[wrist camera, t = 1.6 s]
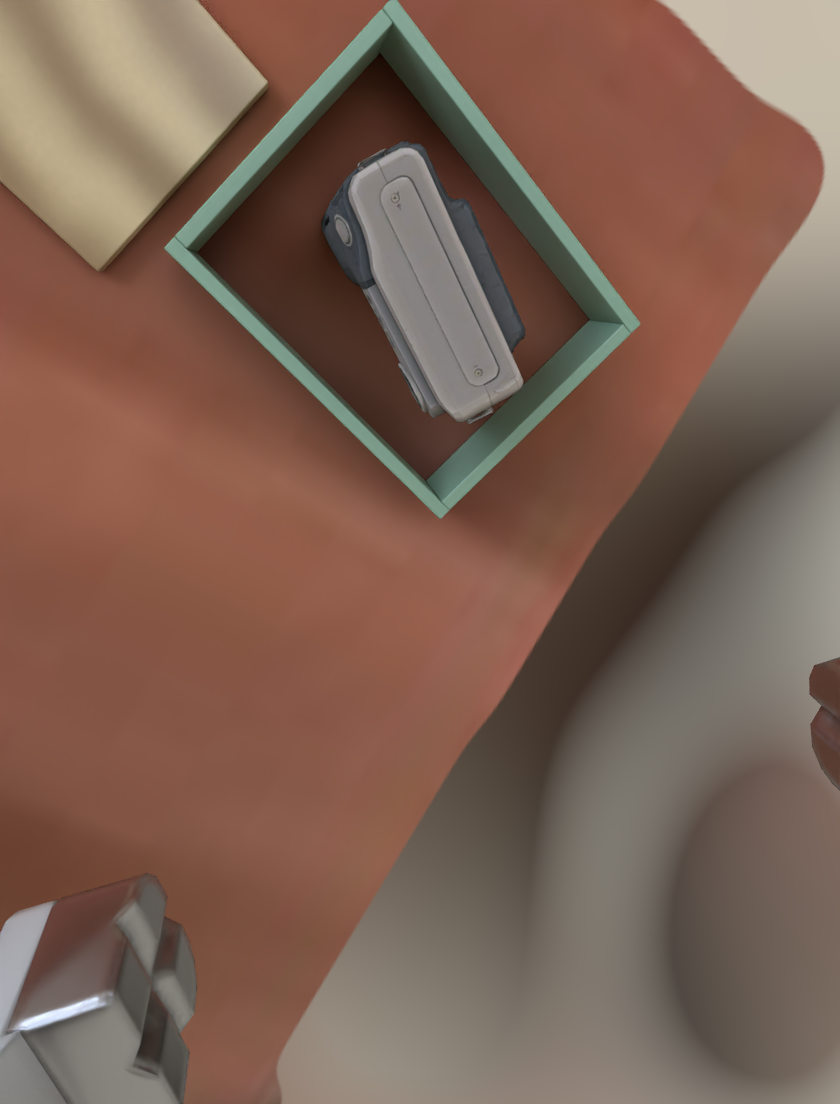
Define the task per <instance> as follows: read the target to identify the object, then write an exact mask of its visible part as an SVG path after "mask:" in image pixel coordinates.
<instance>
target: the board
mask: <svg viewBox="0 0 840 1104" xmlns="http://www.w3.org/2000/svg"><path fill="white" fill-rule="evenodd" d="M267 89H268V81H267V80H266V79H265V78H264V76H263V75H262V74H261V73H260V72H259V71H258V70H257V68H256V67H255V66H254V65H253V64H252V63H251V61H250V60H249V59H248V58H247V57H246V56H245V54H244V53H243V52H242V51H241V50H240V49H239V47H238V46H237V45H236V44H235V43H234V42H233V41H232V39H231V38H230V37H229V36H228V35H227V34H226V32H225V31H224V30H223V29H222V28H221V27H220V25H219V24H218V23H217V22H216V21H215V20H214V19H213V17H212V16H211V15H210V14H209V13H208V12H207V10H206V9H205V8H204V7H203V6H202V5H201V3H200V2H199V1H198V0H0V182H1V183H3V184H4V185H5V186H6V187H7V188H8V189H9V190H10V191H11V192H12V193H13V194H14V195H15V196H17V197H18V198H19V199H20V200H21V201H22V202H23V203H24V204H25V205H26V206H27V207H28V208H30V209H31V210H32V211H33V212H34V213H35V214H36V215H37V216H38V217H39V218H40V219H41V220H42V221H44V222H45V223H46V224H47V225H48V226H49V227H50V228H51V229H52V230H53V231H54V232H55V233H56V234H58V235H59V236H60V237H61V238H62V239H63V240H64V241H65V242H66V243H67V244H68V245H69V246H70V247H72V248H73V249H74V250H75V251H76V252H77V253H78V254H79V255H80V256H81V257H82V258H83V259H84V260H86V261H87V262H88V263H89V264H90V265H91V266H92V267H93V268H94V269H95V270H96V271H98V272H103V271H104V270H105V269H106V268H107V267H108V265H109V264H110V263H111V262H112V261H113V260H114V259H115V258H116V257H117V256H118V254H119V253H120V252H121V251H122V250H123V249H124V248H125V247H126V246H127V244H128V243H129V242H130V241H131V240H132V239H133V238H134V237H135V236H136V234H137V233H138V232H139V231H140V230H141V229H142V228H143V227H144V226H145V224H146V223H147V222H148V221H149V220H150V219H151V218H152V217H153V216H154V214H155V213H156V212H157V211H158V210H159V209H160V208H161V207H162V206H163V204H164V203H165V202H166V201H167V200H168V199H169V198H170V197H171V196H172V195H173V193H174V192H175V191H176V190H177V189H178V188H179V187H180V186H181V185H182V183H183V182H184V181H185V180H186V179H187V178H188V177H189V176H190V175H191V173H192V172H193V171H194V170H195V169H196V168H197V167H198V166H199V165H200V163H201V162H202V161H203V160H204V159H205V158H206V157H207V156H208V155H209V153H210V152H211V151H212V150H213V149H214V148H215V147H216V146H217V145H218V143H219V142H220V141H221V140H222V139H223V138H224V137H225V136H226V135H227V134H228V132H229V131H230V130H231V129H232V128H233V127H234V126H235V125H236V124H237V122H238V121H239V120H240V119H241V118H242V117H243V116H244V115H245V114H246V112H247V111H248V110H249V109H250V108H251V107H252V106H253V105H254V104H255V102H256V101H257V100H258V99H259V98H260V97H261V96H262V95H263V94H264V92H265V91H266V90H267Z"/></svg>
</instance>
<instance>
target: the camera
mask: <svg viewBox="0 0 840 1104" xmlns="http://www.w3.org/2000/svg"><path fill="white" fill-rule="evenodd" d="M321 226H322V231H323V233H324V235H325V237H326V239H327V242H328V244H329V246H330V248H331V250H332V252H333V253H334V255H335V256H336V258H337V260H338V262H339V264H340V266H341V268H342V269H343V271H344V272H345V274H346V275H347V277H348V278H349V279H350V280H351V281H352V282H353V283H355V284H357V285H359V286H361V288H362V290H363V292H364V294H365V296H366V298H367V299H368V301H369V303H370V305H371V307H372V309H373V311H374V313H375V314H376V316H377V318H378V320H379V322H380V324H381V326H382V328H383V330H384V332H385V333H386V335H387V337H388V339H389V341H390V343H391V345H392V347H393V349H394V351H395V353H396V355H397V357H398V359H399V361H400V363H399V364H398V365H399V368H400V370H401V372H402V374H403V376H404V378H405V380H406V382H407V384H408V386H409V388H410V390H411V392H412V394H413V396H414V398H415V399H416V401H417V403H418V404H419V406H420V408H421V409H422V411H423V412H425V413H426V412H428V413H429V414H430V415H431V417H432V418H434V417H436V416H439V415H441V414H443V413H445V412H447V413H448V414H449V415H450V416H451V417H453V418H454V419H455V420H456V421H457V422H463V421H466V422H467V423H468V424H470V423H472V422H474V421H476V420H478V419H480V418H482V417H484V416H486V415H488V414H490V413H492V411H493V408H492V406H493V405H495V404H497V403H498V402H500V401H502V400H504V399H506V398H507V397H509V396H511V395H513V394H515V393H517V392H518V391H519V390H520V389H521V388H522V386H523V382H524V381H523V379H522V376H521V374H520V372H519V369H518V367H517V365H516V362H515V360H514V358H513V355H512V353H513V349H514V348H515V347H516V346H517V344H518V343H519V341H520V340H522V339H523V338H524V336H525V328H524V326H523V324H522V321H521V319H520V316H519V314H518V312H517V309H516V307H515V305H514V302H513V300H512V298H511V295H510V293H509V291H508V289H507V287H506V285H505V283H504V280H503V278H502V276H501V273H500V271H499V269H498V266H497V264H496V262H495V259H494V257H493V255H492V252H491V250H490V248H489V246H488V243H487V241H486V239H485V237H484V235H483V232H482V230H481V228H480V226H479V223H478V221H477V219H476V216H475V214H474V212H473V210H472V208H471V206H470V204H469V202H468V201H466V200H465V199H456V200H454V199H452V198H450V197H449V196H448V195H447V193H446V191H445V189H444V187H443V185H442V183H441V182H440V180H439V178H438V176H437V173H436V171H435V169H434V167H433V164H432V163H431V161H430V159H429V157H428V154H427V151H426V149H425V148H424V147H423V146H422V145H421V144H409V142H408V141H405V142H404V141H402V142H400V143H399V144H397V145H395V146H393V147H391V148H389V149H388V150H386V148H385V149H383V150H381V151H379V152H377V153H376V154H374V155H372V156H370V157H369V158H367V159H365V160H363V161H362V162H360V163H358V168H357V169H355V170H354V171H353V172H352V173H351V174H350V175H349V176H348V177H347V178H346V180H345V181H344V182H343V184H342V186H341V187H340V188H339V190H338V191H337V193H336V195H335V196H334V198H333V199H332V201H331V202H330V204H329V207H328V208H327V210H326V213H325V215H324V217H323V219H322V223H321ZM483 411H485V412H483ZM481 412H483V413H482V414H481V415H480V416H478V417H475V418H473V419H470V418H472V417H474V416H476V415H477V414H479V413H481Z"/></svg>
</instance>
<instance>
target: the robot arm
mask: <svg viewBox="0 0 840 1104" xmlns="http://www.w3.org/2000/svg"><path fill="white" fill-rule="evenodd" d="M809 680H810V681H809V682H810V683H809V684H810V695H811V696H812V697H813V698H814V699H815V700H816V701H817V702H818V703H819V704H820V705H822V706H821V707H820V709H819V711H818V713H817V714H816V716H815V717H814V719H813V721H812V723H811V724H810V725H811V737H812V747H813V750H814V752H815V755H816V757H817V759H818V762H819V764H820V766H821V769H822V770H823V771H824V773H825V774H826V775H827V777H828V778H829V780H830V781H831V782H832V784H833V785H834V786H835V787H837V789H838V790H840V657H839V658H836V659H833V660H830V661H827V662H823V663H820V664H817V665H814V667H813V670H812V672H811V674H810V678H809ZM166 903H167V895H166V893H165V891H164V889H163V888H162V886H161V884H160V882H159V880H158V879H157V877H156V876H155V875H151V874H148V873H146V874H143V875H139V876H136V877H132V878H129V879H125V880H122V881H118V882H115V883H111V884H108V885H104V886H101V887H97V888H94V889H90V890H87V891H83V892H80V893H76V894H73V895H69V896H66V897H62V898H61V899H60V900H55V901H51V902H48V903H44V904H41V905H37V906H34V907H31V908H27V909H24V910H20V911H17V912H16V913H15V914H14V915H12V916H11V917H10V918H9V919H8V920H7V921H6V922H5V924H4V926H3V928H2V931H1V933H0V1104H183V1101H184V1093H185V1085H186V1077H187V1069H188V1061H189V1051H188V1049H187V1047H186V1045H185V1043H184V1041H183V1039H182V1037H181V1035H180V1033H181V1032H182V1030H183V1029H184V1027H185V1026H186V1024H187V1023H188V1021H189V1020H190V1018H191V1017H192V1015H193V1014H194V1011H195V1001H196V991H197V985H196V973H195V961H194V957H193V953H192V950H191V946H190V943H189V940H188V937H187V935H186V933H185V931H184V929H183V927H182V925H181V924H179V923H177V922H175V921H173V920H171V919H169V918H167V917H165V916H164V914H165V908H166Z"/></svg>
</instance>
